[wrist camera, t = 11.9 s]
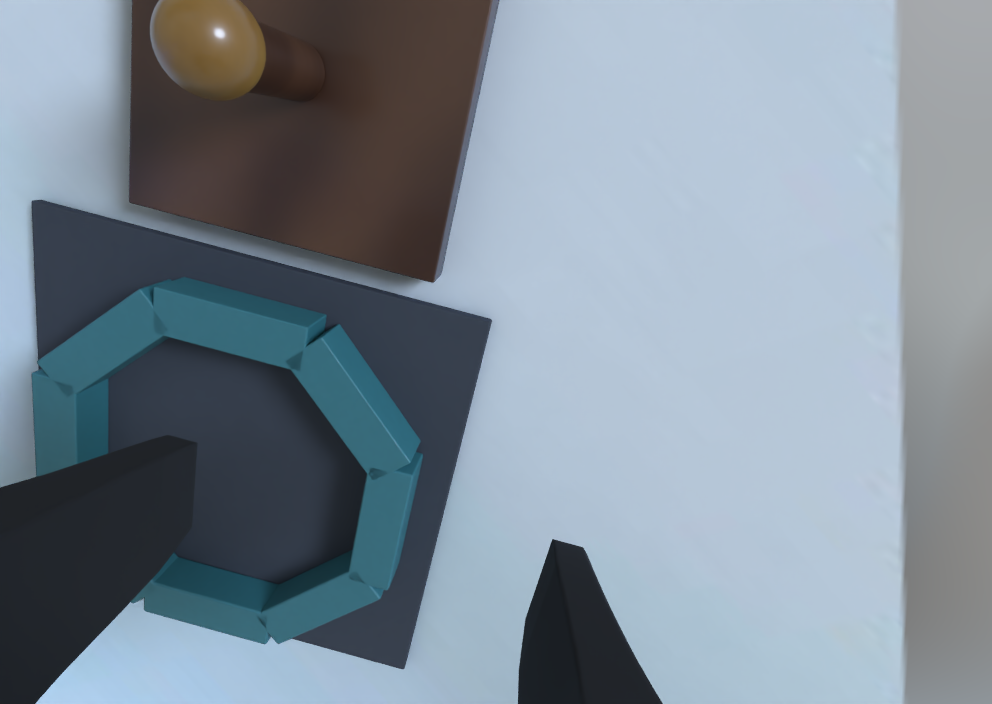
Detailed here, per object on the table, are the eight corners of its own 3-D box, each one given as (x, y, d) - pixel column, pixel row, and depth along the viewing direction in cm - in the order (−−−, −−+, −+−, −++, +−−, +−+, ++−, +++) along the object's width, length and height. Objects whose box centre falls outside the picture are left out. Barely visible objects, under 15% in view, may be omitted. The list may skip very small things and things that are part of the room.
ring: (72, 556, 24) (40, 583, 23) (65, 244, 20) (24, 252, 18) (381, 642, 24) (369, 674, 23) (448, 346, 19) (438, 362, 18)
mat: (54, 564, 25) (46, 571, 25) (41, 199, 20) (30, 200, 19) (406, 662, 25) (403, 670, 25) (492, 319, 19) (490, 322, 19)
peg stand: (153, 199, 19) (-45, 223, 13) (164, -164, 16) (-97, -372, 10) (441, 275, 19) (382, 336, 13) (515, -75, 16) (486, -227, 9)
